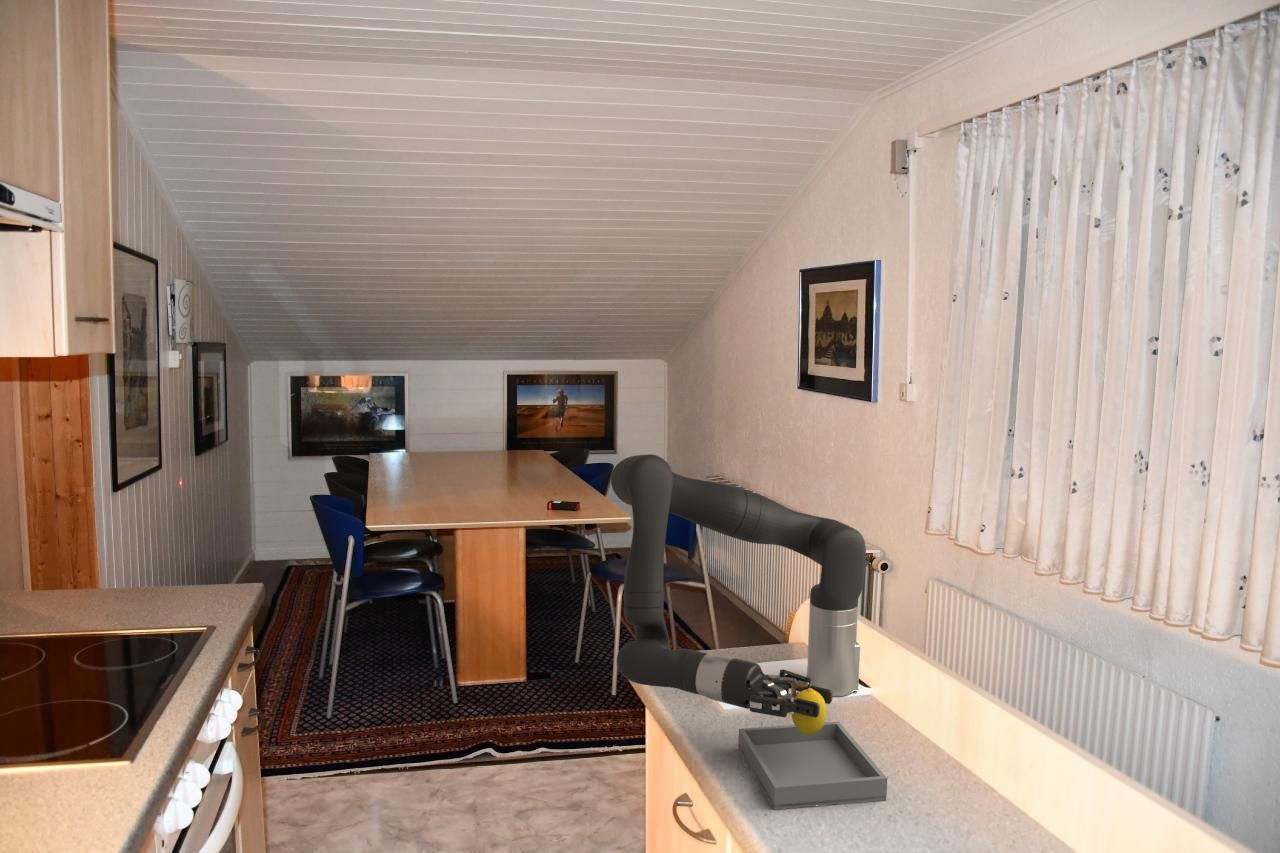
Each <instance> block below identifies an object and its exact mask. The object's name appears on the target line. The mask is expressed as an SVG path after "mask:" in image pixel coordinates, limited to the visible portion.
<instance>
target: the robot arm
mask: <svg viewBox="0 0 1280 853" xmlns="http://www.w3.org/2000/svg"><path fill="white" fill-rule="evenodd" d="M610 483H611V484H610V486H611V488H612V491H613V493H614V494H615V495H616V497H618V499H619V500H620V501H621V502H623V503H625V504H626V505H629V506H631V510H632V519H633V520H632V521H633V522H632V524H633V526H632V528H633V529H632V536H631V538H632V539H631V544H630V549H629V553H628V557H627V562H626V565H625V566H626V567H625V571H624V578H623V579H624V580H623V613H624V614H623V615H624V619H625V621H626V623H628V624H629V625H632V626H633V629H634V630H633V631H634V638H635V640H633V641H630V642H627V643H626V644H624V645H623V646H622V647H621V648H620V650H619V651H618V653H617V655H616V666H617V669H618V671H619V673H620V674H621V675H622V676H623V677H624V679H626V680H628V681H630V682H632V683H635V684H639V685H643V686H651V687H660V688H661V687H662V688H671V689H677V690H681V691H684V692H688V693H691V694H695V695H699V696H701V697H705V698H707V699H709V700H713V701H715V702H719V703H722V704H727V705H731V706H735V707H739V708H742V709H746V710H747V709H748V710H749V711H750V713H755V714H762V715H768V716H775V717H780V718H787V715H788V714H789V715H792V714H794V713H799V714H803V715H807V716H810V717H814V718H816V717H818V715H819V710H820V705H819V704H818V703H816V702H812V701H808V700H804V699H800V698H797V699H796V698H795V697H796V695H797V694H798V693H800V692H801V691H803V690H807V689H808V688H812V689H813V690H814V691H817V692H818V693H819V694H820V695H821V696H822V697H823V699H824V701H825V704H826V705H831V703H832V702H833V697H844V696H849V695H850V693H851V692H852V691H853V690H858V691H859V685H860V684H859V681H860V680H859V678H860V662H861V661H860V660H861V659H860V658H861V645H860V643H859V642H857V639H858V638H857V637H858V636H857V634H858V610H859V599H860V596H861V594H862V592H863V589H864V582H865V571H866V562H867V559H866V558H867V548H866V542H865V539H864V536H863V534H861V532H859V531H858V530H857V529H856V528H853V527H852V526H850V525H847V524H845V523H843V522H841V521H839V520H836V519H832V518H827V517H822V516H818V515H811V514H807V513H802V512H799V511H796V510H793V509H791V508H788V507H787V506H784V505H783V504H781V503H779V502H777V501H775V500H772V499H770V498H769V497H766V496H764V495H761V494H759V493H755V492H754V491H751V490H747V489H745V488H741V487H739V486H735V485H731V484H726V483H723V482H717V481H712V480H711V481H710V480H703V479H696V478H690V477H686V476H684V475H681V474H678V473H675V472H673V470H672V468H671V466H670V465H669V463H668V462H667V461H666V460H665V459H664V458H663V457H661V456H659V455H656V454H652V453H651V454H639V455H630V456H628V457H626V458H623V459H622V460H621V461H619V462H618V463H617V464H616V465H615V466H614V467H613V469H612V471H611V475H610ZM669 514H672V515H675V516H678V517H680V518H683V519H685V520H687V521H690V522H692V523H693V524H696V525H698V526H701V527H702V528H703V527H704V528H706V529H709V530H711V531H714V532H716V533H719V534H722V535H724V536H728V537H730V538H733V539H737V540H739V541H742V542H743V541H744V542H747V543H751V544H752V543H753V544H756V545H757V544H758V545H775V546H778V547H783V548H785V549H787V550H788V549H789V550H790V551H793V552H796V553H798V554H800V555H802V556H805V557H806V558H808V559H810V560H811V561H814V562H815V563H817V564H818V565H820V566H821V569H820V570H821V571H820V579H819V581H820V582H819V583H817V584H815V585H813V586H812V587H811V589H810V592H809V614H808V615H809V618H808V619H809V620H808V643H807V644H808V646H807V670H806V671H807V672H806V676H805V675H802V674H798V673H795V672H793V671H790V670H786V669H780V670H779V674H778V675H776V674H764V672H763V671H762V667H761V666H760V665H759V664H758V663H756V662H753V661H749V660H744V659H740V658H737V657H731V656H727V655H722V654H715V653H714V654H712V653H707V652H703V651H698V650H695V649H688V648H681V649H680V648H678V649H671V642H670V638H669V633H668V627H667V624H666V621H665V616H664V615H665V614H664V602H665V601H664V600H665V599H664V596H665V594H664V592H665V591H664V589H665V588H664V587H665V586H664V570H665V569H664V567H665V566H664V564H665V562H664V561H665V550H666V548H665V547H666V538H667V528H668V520H669ZM789 691H790V693H789ZM852 693H853V692H852ZM852 693H851V694H852Z"/></svg>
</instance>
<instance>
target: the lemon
mask: <svg viewBox="0 0 1280 853" xmlns="http://www.w3.org/2000/svg"><path fill="white" fill-rule="evenodd" d="M795 698H796V699H797V698H800V699H804V700H808V701H812V702H816V703H818V704H819V705H820V710H819V715H818V717H816V718H814V717H810V716H807V715H803V714H799V713H794V714H791V718H792V722H793V725H795V726H796V727H797V729H798V730H800V731H801V732H804V734H805V735H807V736H809V735H811V734H812V733H816V732H818V731H819V730H820V729H821V728H822V727H823V725H824V723H826V721H827V720H826V719H827V707H826V706H827V704H826V703H825V701H824V699H823V697H822V696H821V695H820V694H819V693H818V692H817V691H814V690H813V689H812V688H808V689H807V690H803V691H801V692H799V693H798V694H797V695H796V697H795Z"/></svg>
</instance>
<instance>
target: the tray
mask: <svg viewBox="0 0 1280 853" xmlns="http://www.w3.org/2000/svg"><path fill="white" fill-rule="evenodd" d="M737 740H738V741H737V742H738V745H737V746H738V747H737V749H738V751H739V752H740V755H741V756H742V758H743V759H744V761H745V763H746V764H747V766H748V768H749V770H750V771H751V773H752V774H754V775H753V776H754V778H755V779H756V781H757V783H758V785H759V784H760V785H759V787H760V789H763V790H762V791H764V792H763V793H764V795H765V797H766V796H767V797H766V799H767V800H768V799H769V800H768V801H770V802H769V803H770V805H771V806H773V807H772V809H773V808H774V809H780V810H789V809H788V808H792V809H800V808H799V807H803V808H810V807H809V806H815V807H817V806H816V805H826V806H832V805H831V804H838V805H847V804H848V803H849V804H857V803H858V804H859V803H870V802H881V801H882V802H883V801H887V792H888V777H887V775H885V774H884V773H883V771H882V770H881V769H880V767H878V766H877V765H876V763H875V762H874V761H873V760H872V758H870V756H869V755H868V753H866V752H865V750H864V749H863V748H862V746H861V745H859V743H858V742H857V741H856V740H855V739H854V737H853V736H852V735H851V734H850V733H849V731H848V730H847V729H846V728H845V727H844V726H843V724H842V723H841V722H840V721H829V722H828V721H827V722H825V723H824V725H823V727H822V728H821V729H820V730H819V731H818V732H816V733H812V734H811V735H809V736H807V735H805V734H804V732H801V731H800V730H798V729H797V727H796V726H795V725H794V724H790V725H789V724H788V725H775V726H774V725H773V726H759V727H744V728H738V739H737ZM829 804H830V805H829ZM849 804H848V805H849ZM807 806H808V807H807ZM797 807H798V808H797ZM784 808H785V809H784ZM786 808H787V809H786ZM774 809H773V810H774Z"/></svg>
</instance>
